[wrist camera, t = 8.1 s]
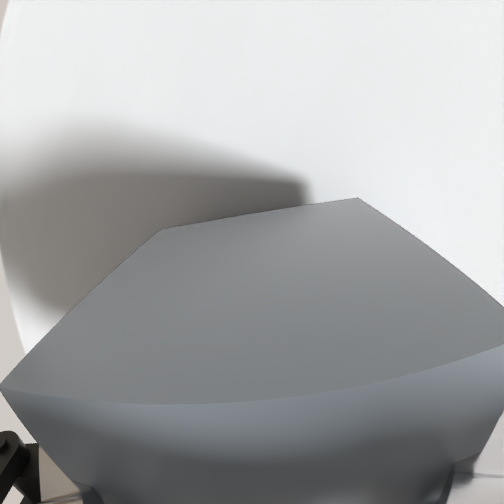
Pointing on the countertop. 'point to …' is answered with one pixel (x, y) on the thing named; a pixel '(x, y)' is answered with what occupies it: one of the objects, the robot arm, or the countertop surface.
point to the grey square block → (270, 366)
